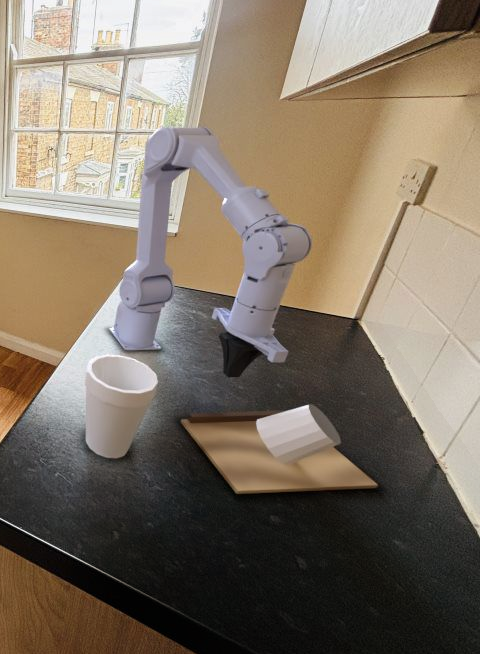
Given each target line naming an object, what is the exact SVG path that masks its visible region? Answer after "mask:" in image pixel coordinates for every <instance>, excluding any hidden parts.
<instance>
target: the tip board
mask: <svg viewBox="0 0 480 654" xmlns="http://www.w3.org/2000/svg"><path fill="white" fill-rule="evenodd" d="M288 410H289V409H288ZM288 410H256V411H228V412H227V411H225V412H191V413H188V415H187V418H184V419H183V418H181V420H180V423H181V424H182V426H183V427H184V429H185V430H186V431H187V432H188V433H189V435H190V436H191V438H192V439H193V440H194V441H195V443H196V444H197V445H198V446H199V448H200V449H201V450H202V451H203V453H204V454H205V455H206V457H207V458H208V460H209V461H210V462H211V463H212V464H213V466H214V467H215V469H216V470H217V471H218V472H219V474H220V475H221V476H222V478H223V479H224V480H225V481H226V483H227V484H228V485H229V486H230V488H231V489H232V490H233V492H234V493H235V494H236V495H243V494H244V495H245V494H267V493H270V494H271V493H290V492H291V493H293V492H316V491H337V490H340V491H341V490H357V489H358V490H360V489H377V488H378V486H379V484H377V482H375V480H373V479H372V478H371V477H370V476H369V475H367V474H366V473H365V472H364V471H362V470H361V469H360V468H359V467H358V466H357V465H355V464H354V463H353V462H352V461H350V460H349V459H348V457H346V456H345V455H344V454H342V453H341V452H340V451H339V450H337V449H336V448H335V446H333V447H331V448H328V449H326V450H324V451H321V452H319V453H316V454H314V455H312V456H309V457H307V458H304V459H302V460H300V461H297V462H295V463H292V464H290V465H285V464H283V463H281V462H280V461H279V460H278V459H277V458H275V456H274V455H273V454H272V453H271V452H270V451H269V449H268V448H267V447H266V445H265V444H264V442H263V440H262V439H261V437H260V434H259V432H258V430H257V425H256V422H257V419H261V418H264V417H268V416H271V415H275V414H278V413H282V412H285V411H288Z"/></svg>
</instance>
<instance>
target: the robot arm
mask: <svg viewBox="0 0 480 654" xmlns="http://www.w3.org/2000/svg"><path fill="white" fill-rule="evenodd" d="M219 145H220V138H218V136H216V135H214V132H213V131H212V130H211V128H209V127H207V126H197V127H188V126H187V127H183V126H182V127H179V126H177V127H176V126H174V127H173V126H166V125H165V126H161V127H159V128H157V129H156V130H155V131H154V132H153V133H152V134H151V136H150V137H149V138H148V139H147V140H146V142H145V145H144V157H143V159H144V160H143V169H142V173H141V181H140V183H141V184H140V185H141V186H140V195H139V197H140V199H139V211H138V212H139V213H138V225H137V240H136V251H135V252H136V253H135V261H134V262H132V263H131V264H130V265H129V266H128V267H127V268H126V269H124V271H123V278H122V281H121V283H120V285H119V291H118V292H119V297H120V302H119V303H118V305H117V308H116V313H115V318H114V322H113V327H110V328H109V331H110V333H111V334H112V335H113V336H114V338H115V339H116V340H117V341H118V343H119V344H120V345H121V347H122V348H123V349H124V350H125V351H159V350H161V349H162V347H161V346H160V344H159V343H158V342H157V341H156V340H155V337H156V334H157V329H158V324H159V321H160V317H161V312H162V309H163V308H165V307H166V303H169V302H170V301H171V300H173V298H174V296H175V293H176V287H175V283H174V278H173V274H174V270H173V269H172V268H171V267H170V266H169V265H168V264H167V263H166V251H167V240H168V229H169V220H170V219H169V218H170V207H171V196H172V187H173V182H174V181H175V180H177V178H178V177H179V176H180V175H181V174H183V173H185V172H186V171H188V170H191V169H195V170H196V172H198V174H199V175H200V176H201V177H202V178H203V179H204V181H206V183H207V184H208V185H209V186H210V187H211V188H212V189H213V190H214V192H215V193H216V194H217V195H218V196H219V197H220V198H221V199H222V200H223V201H222V204H221V209H220V210H221V214H223V215H224V218H226V220H227V221H228V222H229V223H230V225H231V226H232V228H233V229H234V230H235V232H236V233H237V234H238V236H239V237H240V238H241V240H242V241H243V242H242V246H241V251H242V256H243V258H244V265H243V268H242V270H243V274H242V277H241V280H240V284H239V286H238V289H237V292H236V296H235V298H234V302H233V305H232V307H231V310H229V309H227V308H226V307H215V308H214V309H213V311H212V315H211V319H213V320H214V321H219V322H220V323H221V324H222V325H223V327H224V329H225V330H226V332H220V333H219V334H218V338H219V341H220V343H221V344H220V345H221V349H222V359H223V363H222V364H223V365H222V367H223V368H222V369H223V371H222V372H223V374H224V375H225V376H226V377H227V378H228V379H229V378H231V379H232V378H240V377H241V376H242V374H243V373H244V372H245V370H246V369H248V367H249V366H250V365H251V364H252V363H253V362H254V361H255V360H256V359H257V358H259V357H261V355H263V354H264V355H265V356H267V360H268V361H269V362H270V363H285V362H286V360H287V357H288V355H289V350H287V348H285V347H284V346H283V345H282V344H281V343H280V342H279V340H278V339H277V338H276V337H275V335H274V333H275V330H276V329H275V328H273V324H274V322H275V319H276V316H277V314H278V312H279V309H280V306H281V304H282V302H283V298H284V296H285V293H286V289H287V287H288V285H289V282H290V279H291V277H292V274H293V272H294V269H295V268H296V267H295V266H296V264H297V263H299V262H302V261H303V260H305V259H306V258H307V257H308V255H309V254H310V253H311V251H312V246H313V241H312V237H311V235H310V234H309V232H308V230H307V228H306V226H303V225H300V224H296V223H291V222H290V221H289V218H288V217H287V216H286V215H285V214H282V213H281V212H280V211H279V210H278V209H277V207H275V205H274V203H272V201H271V200H270V199H269V197H270V196H271V195H270V193H269V192H268V191H267V189H264V188H263V189H261V188H260V187H258V186H246V184H245V183H244V181H243V180H242V178H241V177H240V175H239V174H238V173H237V171H236V170H235V168H234V167H233V165H232V163H230V161H229V159H228V158H227V156H226V155H225V153H224V152H223V151H222V150H221V148H220V146H219Z"/></svg>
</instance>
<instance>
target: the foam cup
mask: <svg viewBox="0 0 480 654" xmlns="http://www.w3.org/2000/svg"><path fill="white" fill-rule="evenodd" d="M158 384H159V381H158V377H157V374H156V372H155V371H154V370H152V368H151V367H150V366H149V365H147V364H145V363H143V362H142V361H140V360H138V359H136V358H133V357H129V356H125V355H121V354H107V353H106V354H101V355H98V356H94V357H93V358H92V359H90V360H89V361H88V362H87V363H86V370H85V378H84V385H85V386H86V387H85V389H86V390H85V443H86V444H87V446H88V448H89V449H90V450H91V451H92V452H93V453H95V454H96V455H98V456H101V457H103V458H107V459H119V458H122V457H124V456H126V454H127V452H128V451H129V449H130V447H131V445H132V443H133V441H134V439H135V436H136V434H137V432H138V430H139V427H140V426H141V423H142V421H143V419H144V416H145V415H146V412H147V410H148V408H149V405H150V404H151V402H152V400H153V399H154V398H155V395H156V392H157V388H158Z"/></svg>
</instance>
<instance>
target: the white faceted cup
mask: <svg viewBox="0 0 480 654" xmlns="http://www.w3.org/2000/svg"><path fill="white" fill-rule="evenodd" d="M284 411H285V412H282V413H278V414H275V415H271V416H268V417H264V418H261V419H257V422H256V425H257V430H258V432H259V434H260V437H261V439H262V440H263V442H264V444H265V445H266V447H267V448H268V449H269V451H270V452H271V453H272V454H273V455H274V456H275V458H277V459H278V460H279V461H280V462H281V463H283V464H285V465H290V464H292V463H295V462H297V461H300V460H302V459H304V458H307V457H309V456H312V455H314V454H316V453H319V452H321V451H324V450H326V449H328V448H331V447H337V446H338V445H340V444H342V441H341V440H342V439H341V438H340V435H339V433H338V431H337V429H336V428H335V426H334V424H333V423H332V422H331V421H330V419H329V418H328V417H327V416H326V415H325V414H324V413H323V411H322V410H321V409H319V408H318V407H317V406H316V405H314V404H312V403H310V404H307V405H302V406H299V407H296V408H292V409H288V411H287V410H284Z"/></svg>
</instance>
